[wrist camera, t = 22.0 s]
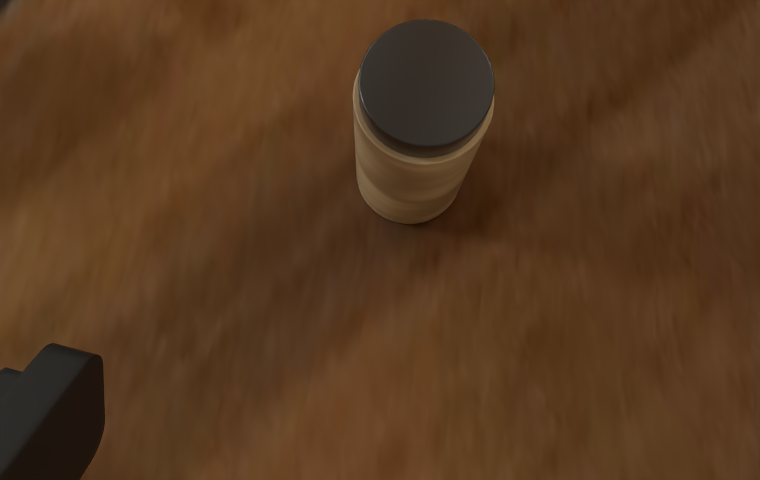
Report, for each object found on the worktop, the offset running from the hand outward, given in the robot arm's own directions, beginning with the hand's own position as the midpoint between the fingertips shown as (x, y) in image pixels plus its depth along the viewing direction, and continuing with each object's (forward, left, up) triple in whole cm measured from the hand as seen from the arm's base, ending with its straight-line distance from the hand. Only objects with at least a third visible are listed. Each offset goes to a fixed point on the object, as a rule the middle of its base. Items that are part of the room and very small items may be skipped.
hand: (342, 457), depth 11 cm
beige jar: (+1, -11, -20) cm, 23 cm away
